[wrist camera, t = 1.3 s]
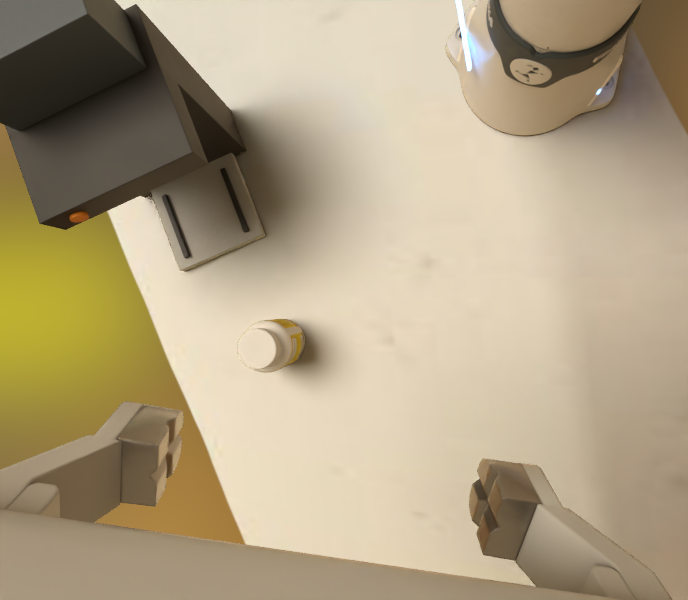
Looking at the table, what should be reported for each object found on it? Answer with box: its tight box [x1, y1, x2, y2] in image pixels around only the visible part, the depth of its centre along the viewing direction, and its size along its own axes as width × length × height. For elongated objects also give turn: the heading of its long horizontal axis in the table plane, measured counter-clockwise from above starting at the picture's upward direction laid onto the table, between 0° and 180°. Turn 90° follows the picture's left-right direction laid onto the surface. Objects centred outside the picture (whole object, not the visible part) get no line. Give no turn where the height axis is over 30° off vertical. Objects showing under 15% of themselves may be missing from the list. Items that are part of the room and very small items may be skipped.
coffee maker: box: [0, 0, 266, 271], centre depth 45 cm, size 16×14×27 cm
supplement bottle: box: [237, 319, 305, 373], centre depth 51 cm, size 5×5×10 cm
